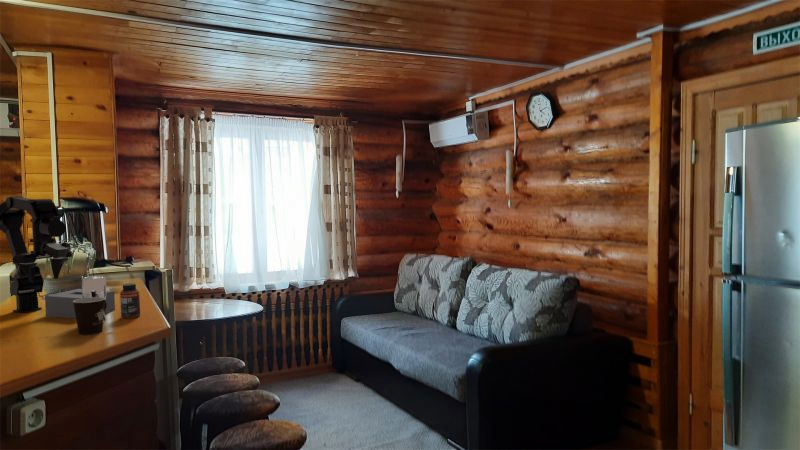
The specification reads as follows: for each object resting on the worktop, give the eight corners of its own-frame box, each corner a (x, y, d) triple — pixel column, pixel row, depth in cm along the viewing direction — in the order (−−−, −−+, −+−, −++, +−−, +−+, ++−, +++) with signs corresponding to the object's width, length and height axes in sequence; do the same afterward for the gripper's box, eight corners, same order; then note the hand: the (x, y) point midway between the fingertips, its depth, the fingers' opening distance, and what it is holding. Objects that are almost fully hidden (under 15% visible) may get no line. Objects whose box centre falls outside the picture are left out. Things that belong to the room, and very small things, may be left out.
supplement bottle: (134, 314, 199) (133, 282, 198) (143, 316, 196) (142, 283, 195) (117, 317, 194) (116, 284, 194) (126, 319, 191) (125, 286, 190)
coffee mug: (84, 337, 169) (83, 303, 168) (68, 333, 174) (67, 300, 173) (121, 328, 179) (120, 297, 178) (105, 325, 183) (104, 294, 183)
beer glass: (97, 325, 183) (95, 279, 182) (78, 324, 184) (76, 278, 183) (112, 320, 190) (110, 275, 189) (94, 319, 191) (92, 275, 190)
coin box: (45, 316, 197) (45, 295, 196) (79, 307, 210) (78, 288, 209) (83, 319, 192) (82, 298, 192) (115, 310, 205) (114, 290, 205)
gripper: (36, 238, 185) (38, 286, 186) (83, 233, 202) (85, 277, 204) (10, 237, 188) (12, 285, 189) (58, 233, 206) (60, 276, 207)
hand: (44, 280), depth 197 cm, fingers open, 9 cm apart
